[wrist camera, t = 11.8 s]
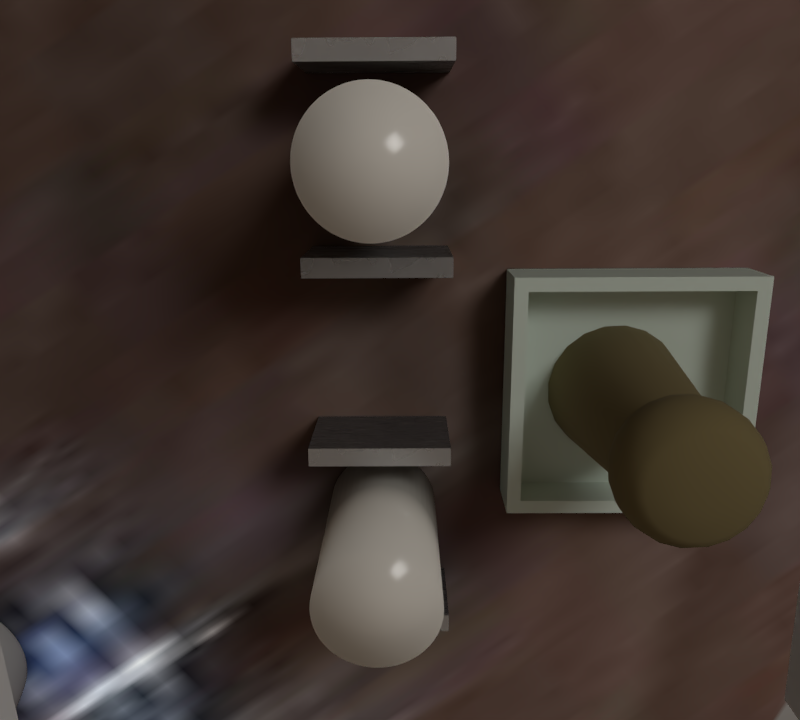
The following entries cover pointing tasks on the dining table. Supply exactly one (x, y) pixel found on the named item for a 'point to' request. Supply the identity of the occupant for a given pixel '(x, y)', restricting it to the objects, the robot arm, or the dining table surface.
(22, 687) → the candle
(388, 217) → the cream jar
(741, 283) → the tray
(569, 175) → the dining table surface
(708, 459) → the cork
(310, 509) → the dining table surface
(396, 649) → the cream rounded capsule
